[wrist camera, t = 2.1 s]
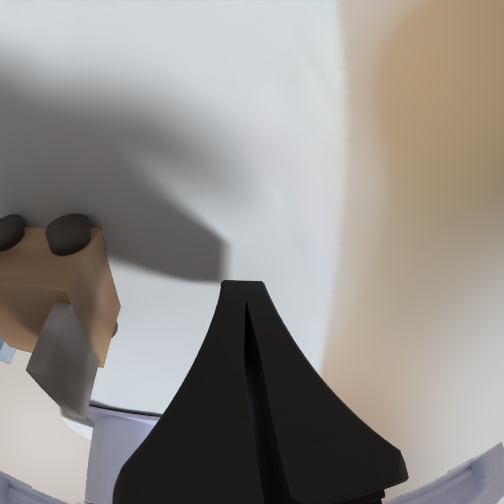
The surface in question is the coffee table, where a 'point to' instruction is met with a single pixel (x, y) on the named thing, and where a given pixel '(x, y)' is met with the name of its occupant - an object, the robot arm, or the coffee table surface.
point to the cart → (58, 304)
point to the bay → (6, 351)
